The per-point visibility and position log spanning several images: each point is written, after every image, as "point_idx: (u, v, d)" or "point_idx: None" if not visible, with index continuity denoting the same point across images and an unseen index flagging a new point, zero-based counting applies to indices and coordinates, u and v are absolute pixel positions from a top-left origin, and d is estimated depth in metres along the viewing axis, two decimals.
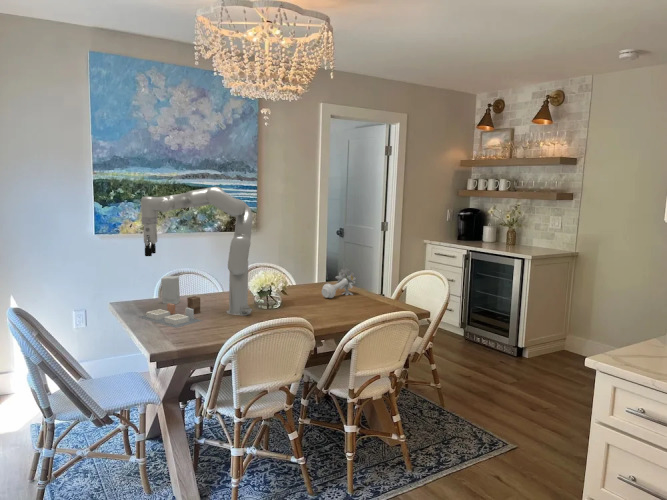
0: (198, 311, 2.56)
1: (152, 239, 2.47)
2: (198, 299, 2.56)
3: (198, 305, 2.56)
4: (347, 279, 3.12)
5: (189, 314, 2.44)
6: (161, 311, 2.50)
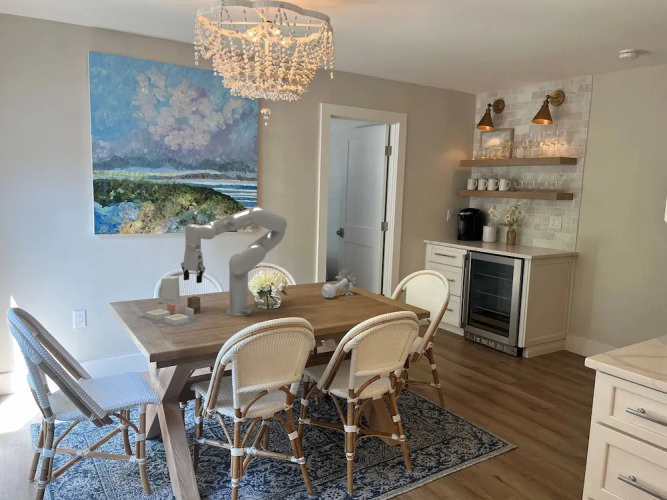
0: (198, 311, 2.56)
1: None
2: (198, 299, 2.56)
3: (198, 305, 2.56)
4: (347, 279, 3.12)
5: (189, 314, 2.44)
6: (161, 311, 2.50)
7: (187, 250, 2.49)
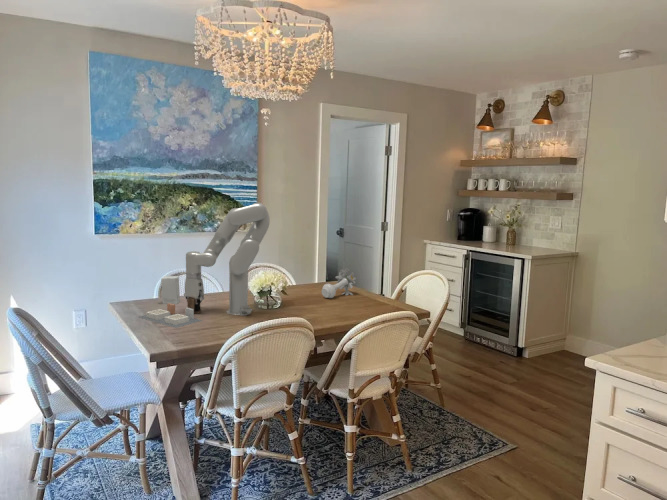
0: (198, 311, 2.56)
1: (203, 293, 2.54)
2: None
3: None
4: (347, 279, 3.12)
5: (189, 314, 2.44)
6: (161, 311, 2.50)
7: (188, 278, 2.51)
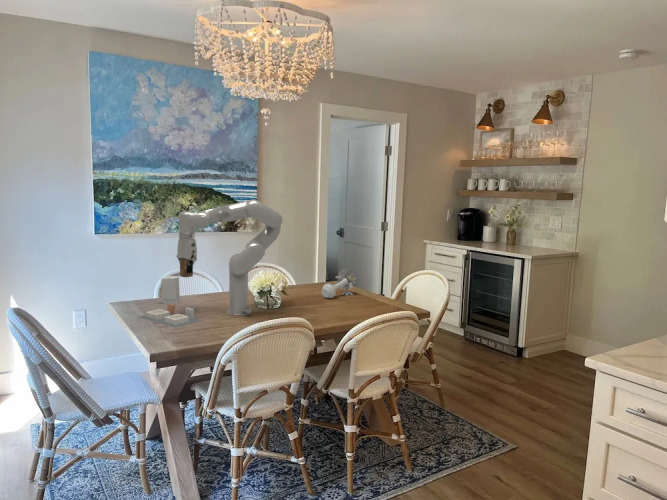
0: (190, 273, 2.52)
1: (196, 254, 2.50)
2: None
3: None
4: (347, 279, 3.12)
5: (189, 314, 2.44)
6: (161, 311, 2.50)
7: (181, 238, 2.47)
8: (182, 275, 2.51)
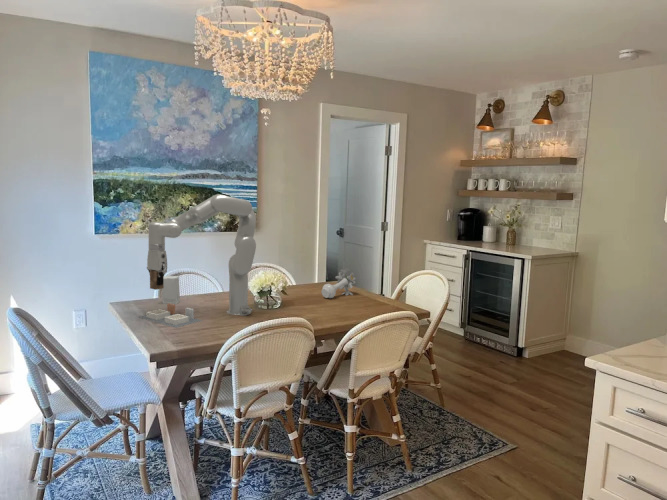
0: (161, 285, 2.44)
1: (166, 265, 2.43)
2: None
3: None
4: (347, 279, 3.12)
5: (189, 314, 2.44)
6: (161, 311, 2.50)
7: (150, 249, 2.39)
8: (152, 287, 2.43)
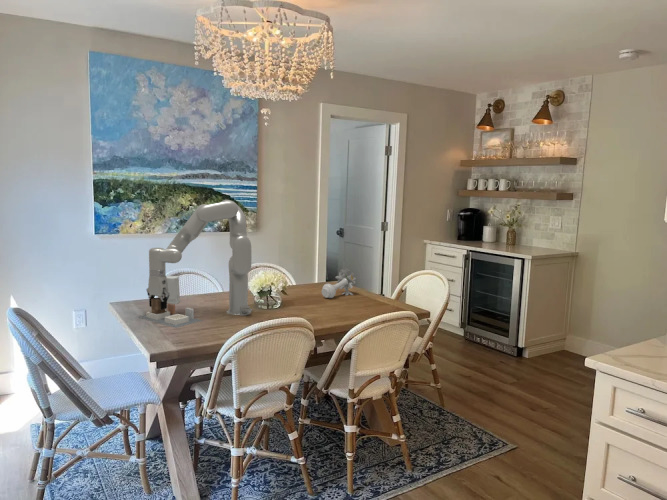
0: None
1: (167, 291, 2.44)
2: None
3: None
4: (347, 279, 3.12)
5: (189, 314, 2.44)
6: None
7: (151, 275, 2.41)
8: None
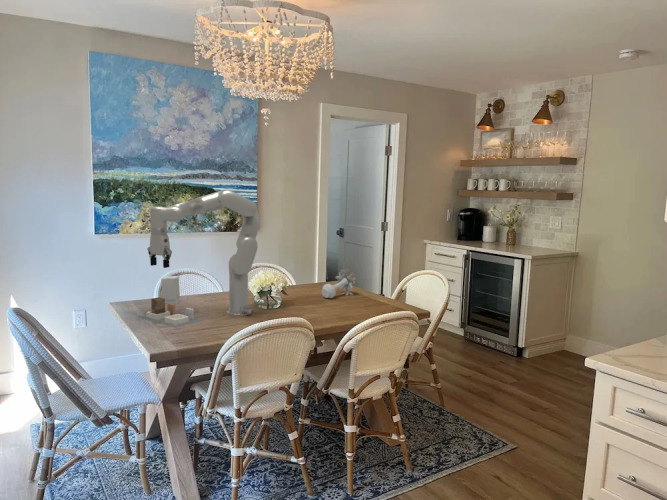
0: None
1: None
2: (162, 300, 2.46)
3: (162, 307, 2.46)
4: (347, 279, 3.12)
5: (189, 314, 2.44)
6: None
7: (152, 234, 2.39)
8: None
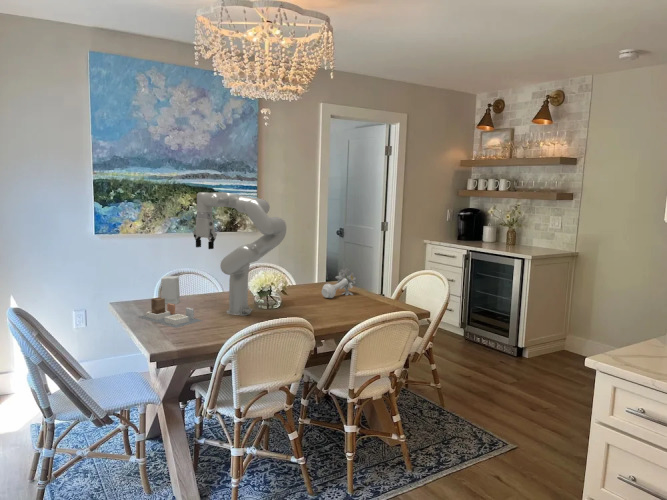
0: None
1: None
2: (162, 300, 2.46)
3: (162, 307, 2.46)
4: (347, 279, 3.12)
5: (189, 314, 2.44)
6: None
7: (199, 217, 2.58)
8: None
